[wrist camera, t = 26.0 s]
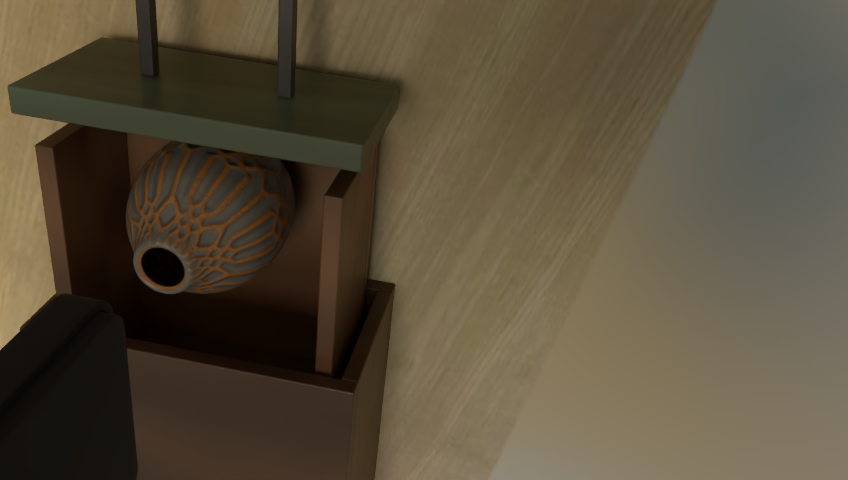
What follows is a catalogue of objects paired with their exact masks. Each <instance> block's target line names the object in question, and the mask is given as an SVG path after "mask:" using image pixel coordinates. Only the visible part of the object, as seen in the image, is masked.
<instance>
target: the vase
mask: <svg viewBox="0 0 848 480" xmlns="http://www.w3.org/2000/svg"><path fill="white" fill-rule="evenodd" d="M293 217H294V191H293V186H292V182H291V179H290V176H289V173H288V171H287V169H286V167H285V165H284V164H283V162H282V161H281V159H277V158H271V157H266V156H260V155H254V154H248V153H242V152H236V151H231V150H225V149H219V148H213V147H207V146H201V145H195V144H190V143H184V142H178V141H171V142H169V143H168V144H166V145H165V146H163V147H162V148H161V149H160V150H158V151H157V152H156V153H155V154H154V155H153V156H152V157H151V158H150V159H149V160H148V161H147V162H146V163H145V165H144V166H143V168H142V169H141V170H140V172H139V174H138V175H137V177H136V179H135V181H134V183H133V186H132V188H131V191H130V194H129V198H128V202H127V207H126V228H127V234H128V238H129V241H130V244H131V246H132V249H133V251H134V257H133V264H134V268H135V271H136V273H137V275H138V277H139V278H140V279H141V280H142V282H143V283H144V284H146V285H147V286H148V287H150V288H151V289H153V290H155V291H157V292H160V293H165V294H175V293H179V292H182V291H184V292H190V293H199V294H209V293H218V292H223V291H227V290H230V289H233V288H235V287H238V286H240V285H242V284H244V283H246V282H248V281H249V280H251V279H252V278H254V277H255V276H257V275H258V274H260V273H261V272H262V271H263V270H264V269H265V268H266V267H267V266H268V265H270V263H271V262H272V261H273V260H274V259H275V257H276V256H277V254H278V253H279V252H280V250H281V248H282V246H283V245H284V243H285V241H286V239H287V237H288V234H289V232H290V229H291V226H292V222H293Z"/></svg>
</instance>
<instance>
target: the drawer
mask: <svg viewBox="0 0 848 480" xmlns="http://www.w3.org/2000/svg"><path fill="white" fill-rule="evenodd" d="M136 12H137V26H138V41H139V43H132V42H126V41H120V40H114V39H107V38H100V39H98V40H96V41H94V42H92V43H90V44H88V45H86V46H84V47H82V48H80V49H78V50H76V51H74V52H72V53H70V54H68V55H66V56H64V57H63V58H61V59H59V60H57V61H55V62H53V63H51V64H49V65H47V66H45V67H43V68H41V69H39V70H37V71H35V72H33V73H31V74H29V75H27V76H26V77H24V78H22V79H20V80H18V81H16V82H14V83H12V84H10V85H8V93H9V99H10V106H11V112H12V113H14V114H20V115H26V116H32V117H37V118H43V119H49V120H55V121H61V122H67V123H68V124H67V125H65V126H64V127H62V128H61V129H59V130H58V131H56V132H55V133H53V134H52V135H50V136H48V137H47V138H45V139H44V140H42V141H41V142H39V143H38V144H36V145H35V148H36V155H37V162H38V169H39V176H40V183H41V190H42V197H43V204H44V211H45V218H46V225H47V232H48V239H49V246H50V253H51V260H52V267H53V274H54V281H55V288H56V295H57V296H58V295H60V294H65V293H67V294H72V295H77V296H82V297H88V298H93V299H98V300H103V301H106V302H108V303H110V305H111V306H112V308H113V313H114V314H115V315H119V316H121V317H122V319H123V321H124V325H125V335H126V338H131V339H136V340H141V341H146V342H152V343H157V344H162V345H167V346H172V347H177V348H182V349H187V350H193V351H198V352H203V353H208V354H213V355H218V356H223V357H228V358H233V359H239V360H244V361H249V362H254V363H259V364H264V365H269V366H274V367H279V368H285V369H290V370H295V371H300V372H305V373H310V374H315V375H320V376H326V377H331V378H336V379H342V376H343V374H344V371H345V369H346V366H347V364H348V361H349V359H350V356H351V354H352V351H353V349H354V347H355V344H356V342H357V339H358V337H359V334H360V332H361V329H362V327H363V322H364V310H365V298H366V287H367V275H368V263H369V252H370V240H371V228H372V216H373V205H374V193H375V181H376V170H377V158H378V146H379V140H380V138H381V137H382V135H383V133H384V131H385V130H386V128H387V126H388V125H389V123H390V121H391V119H392V118H393V116H394V114H395V112H396V111H397V109H398V102H399V91H400V86H399V85H395V84H389V83H382V82H376V81H370V80H364V79H357V78H351V77H345V76H339V75H332V74H326V73H320V72H314V71H307V70H301V69H295V67H296V32H297V0H279V24H278V66H276V65H270V64H264V63H257V62H251V61H245V60H239V59H232V58H226V57H220V56H214V55H207V54H201V53H195V52H189V51H182V50H176V49H170V48H164V47H158V37H157V20H156V2H155V0H136ZM171 141H178V142H184V143H190V144H195V145H201V146H207V147H213V148H219V149H225V150H231V151H236V152H242V153H248V154H254V155H260V156H266V157H271V158H277V159H281V161H282V162H283V164H284V165H285V167H286V169H287V171H288V173H289V176H290V179H291V182H292V186H293V191H294V217H293V222H292V226H291V229H290V232H289V234H288V237H287V239H286V241H285V243H284V245H283V246H282V248H281V250H280V252H279V253H278V254H277V256H276V257H275V259H274V260H273V261H272V262H271V263H270V265H268V266H267V267H266V268H265V269H264V270H263V271H262V272H261V273H260V274H258V275H257V276H255V277H254V278H252V279H251V280H249V281H248V282H246V283H244V284H242V285H240V286H238V287H235V288H233V289H230V290H227V291H223V292H218V293H209V294H199V293H190V292H184V291H182V292H179V293H175V294H165V293H160V292H157V291H155V290H153V289H151V288H150V287H148V286H147V285H146V284H144V283H143V282H142V280H141V279H140V278H139V277H138V275H137V273H136V271H135V268H134V264H133V257H134V251H133V249H132V246H131V244H130V241H129V238H128V234H127V228H126V207H127V202H128V198H129V194H130V191H131V188H132V186H133V183H134V181H135V179H136V177H137V175H138V174H139V172H140V170H141V169H142V168H143V166H144V165H145V163H146V162H147V161H148V160H149V159H150V158H151V157H152V156H153V155H154V154H155V153H156V152H157V151H158V150H160V149H161V148H162V147H163V146H165V145H166V144H168V143H169V142H171Z"/></svg>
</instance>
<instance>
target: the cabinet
mask: <svg viewBox="0 0 848 480" xmlns="http://www.w3.org/2000/svg"><path fill="white" fill-rule="evenodd" d="M394 290H395V284H390V283H385V282H379V281H374V280H368V279H367V287H366V298H365V310H364V322H363V327H362V329H361V332H360V334H359V337H358V339H357V342H356V344H355V347H354V349H353V351H352V354H351V356H350V359H349V361H348V364H347V366H346V369H345V371H344V374H343V376H342V379H336V378H331V377H326V376H320V375H315V374H310V373H305V372H300V371H295V370H290V369H285V368H279V367H274V366H269V365H264V364H259V363H254V362H249V361H244V360H239V359H233V358H228V357H223V356H218V355H213V354H208V353H203V352H198V351H193V350H187V349H182V348H177V347H172V346H167V345H162V344H157V343H152V342H146V341H141V340H136V339H131V338H126V346H127V356H128V367H129V377H130V388H131V398H132V409H133V420H134V430H135V441H136V451H137V462H138V472H137V478H136V480H374V478H375V469H376V459H377V450H378V441H379V431H380V422H381V412H382V403H383V393H384V384H385V375H386V365H387V356H388V346H389V337H390V327H391V318H392V309H393V299H394ZM56 297H57V295H56V294H55V295H54V296H53V297H51V298H50V299H49V300H48V301H47V302H46V303H45V304H44V305H43V306H42V307H41V308H40V309H39V310H38V311H37V312H36V313H35V314H34V315H33V316H32V317H31V318H30V319H29V320H28V321H26V322H25V323H24V324H23V325H22V326H21V327H20V331H21V330H22V329H23V328H24V327H25V326H26V325H27V324H28V323H29V322H30V321H31V320H32V319H33V318H34V317H35V316H36V315H38V314H39V313H40V312H41V311H42V310H43V309H44V308H45V307H46V306H47V305H48V304H49V303H50V302H51V301H52V300H53V299H54V298H56Z"/></svg>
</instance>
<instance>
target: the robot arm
mask: <svg viewBox="0 0 848 480" xmlns="http://www.w3.org/2000/svg"><path fill="white" fill-rule="evenodd" d="M137 472H138V462H137V451H136V441H135V430H134V420H133V409H132V398H131V388H130V377H129V367H128V356H127V346H126V335H125V325H124V321H123V319H122V317H121V316H119V315H115V314H114V313H113V308H112V306H111V305H110V303H108V302H106V301H103V300H98V299H93V298H88V297H82V296H77V295H72V294H67V293H65V294H60V295H58V296H57V297H56V298H54V299H53V300H52V301H51V302H50V303H49V304H48V305H47V306H46V307H45V308H44V309H43V310H42V311H41V312H40V313H39V314H38V315H36V316H35V317H34V318H33V319H32V320H31V321H30V322H29V323H28V324H27V325H26V326H25V327H24V328H23V329H22V330H21V331H20V332H19V333H18V334H17V335H16V336H15V337H14V338H13V339H12V340H11V341H10V342H8V343H7V344H6V345H5V346H4V347H3V348H2V349H1V350H0V480H136V478H137Z"/></svg>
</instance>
